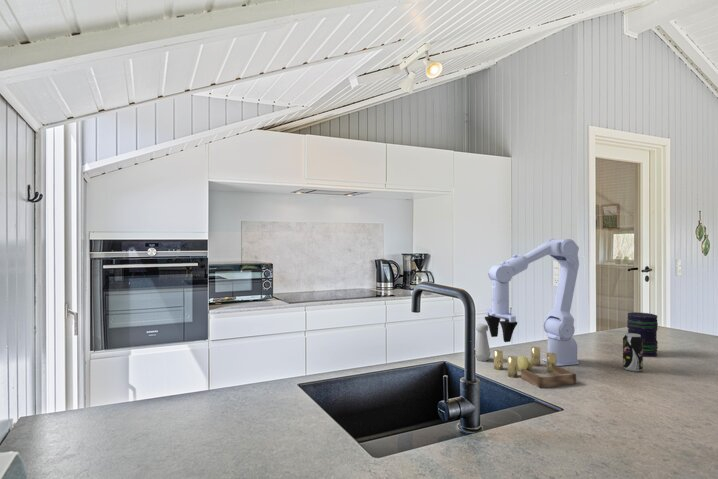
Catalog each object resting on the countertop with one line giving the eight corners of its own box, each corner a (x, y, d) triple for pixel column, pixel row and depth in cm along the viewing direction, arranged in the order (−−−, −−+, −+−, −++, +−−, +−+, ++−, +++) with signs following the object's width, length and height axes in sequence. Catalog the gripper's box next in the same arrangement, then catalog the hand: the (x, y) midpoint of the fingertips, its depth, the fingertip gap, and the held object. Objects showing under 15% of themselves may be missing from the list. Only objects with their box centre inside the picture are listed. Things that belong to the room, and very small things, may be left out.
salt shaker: (488, 357, 164) (488, 322, 163) (491, 362, 158) (492, 326, 158) (472, 357, 164) (472, 322, 164) (475, 361, 159) (475, 325, 158)
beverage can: (639, 373, 144) (639, 337, 144) (620, 369, 149) (620, 334, 149) (645, 370, 148) (645, 334, 148) (626, 366, 152) (626, 331, 152)
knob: (525, 373, 145) (525, 358, 145) (513, 369, 150) (513, 354, 150) (535, 371, 147) (535, 356, 147) (524, 367, 152) (524, 352, 152)
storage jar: (657, 352, 170) (657, 313, 170) (658, 358, 162) (658, 318, 162) (627, 348, 175) (627, 311, 175) (626, 354, 167) (626, 315, 167)
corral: (555, 374, 144) (555, 365, 144) (575, 383, 135) (575, 373, 135) (521, 378, 140) (521, 369, 140) (539, 387, 131) (539, 377, 131)
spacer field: (536, 363, 156) (536, 346, 156) (558, 372, 146) (558, 354, 146) (492, 367, 151) (492, 350, 151) (511, 377, 141) (511, 358, 141)
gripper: (478, 297, 158) (479, 335, 158) (502, 303, 144) (502, 345, 144) (495, 296, 160) (496, 333, 160) (521, 302, 146) (521, 343, 146)
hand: (500, 339), depth 152 cm, fingers open, 7 cm apart
